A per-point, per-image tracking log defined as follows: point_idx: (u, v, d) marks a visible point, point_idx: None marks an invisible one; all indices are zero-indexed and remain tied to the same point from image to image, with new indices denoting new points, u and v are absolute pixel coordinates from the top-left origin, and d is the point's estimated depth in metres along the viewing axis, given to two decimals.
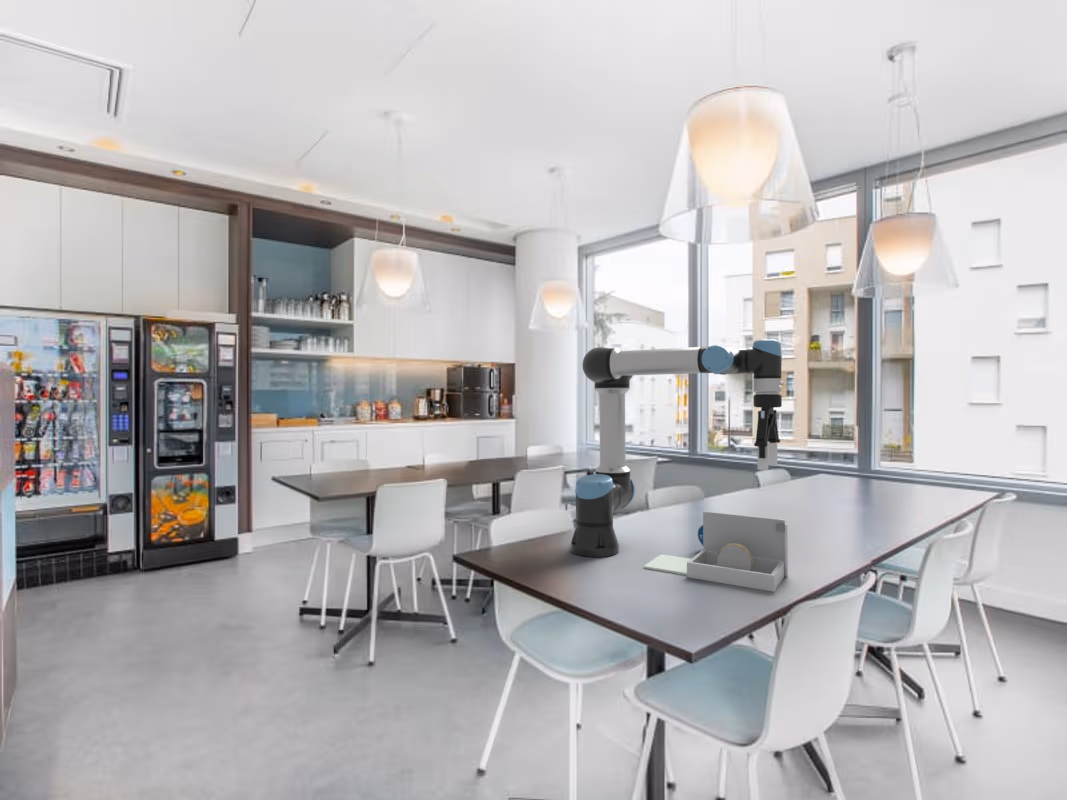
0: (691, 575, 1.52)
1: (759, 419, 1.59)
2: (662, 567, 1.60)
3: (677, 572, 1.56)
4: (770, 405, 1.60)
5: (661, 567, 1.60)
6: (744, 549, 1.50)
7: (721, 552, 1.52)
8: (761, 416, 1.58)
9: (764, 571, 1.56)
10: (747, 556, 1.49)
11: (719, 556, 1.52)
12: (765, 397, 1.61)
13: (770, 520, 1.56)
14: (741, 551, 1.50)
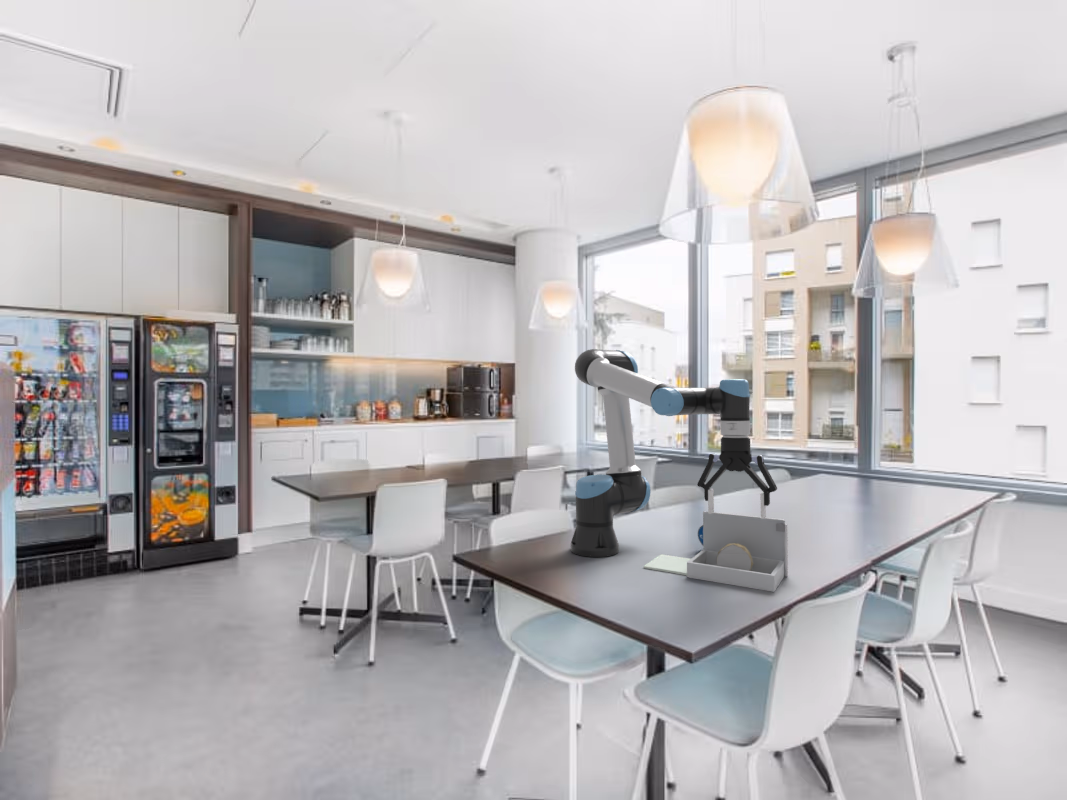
0: (691, 575, 1.52)
1: None
2: (662, 567, 1.60)
3: (677, 572, 1.56)
4: (721, 448, 1.54)
5: (661, 567, 1.60)
6: (744, 549, 1.50)
7: (721, 552, 1.52)
8: None
9: (764, 571, 1.56)
10: (747, 556, 1.49)
11: (719, 556, 1.52)
12: None
13: (770, 520, 1.56)
14: (741, 551, 1.50)
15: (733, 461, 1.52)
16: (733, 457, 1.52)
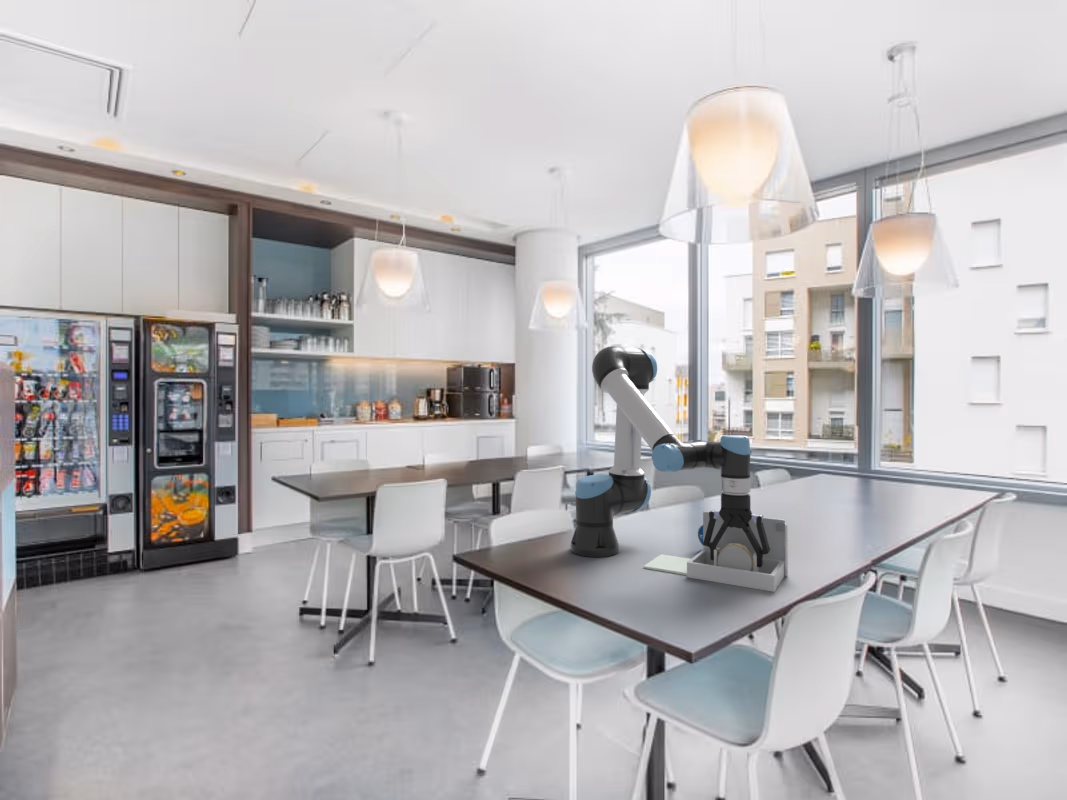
0: (691, 575, 1.52)
1: None
2: (662, 567, 1.60)
3: (677, 572, 1.56)
4: (721, 504, 1.54)
5: (661, 567, 1.60)
6: (745, 549, 1.50)
7: (721, 552, 1.52)
8: None
9: (764, 571, 1.56)
10: (748, 556, 1.49)
11: (719, 556, 1.52)
12: None
13: (770, 520, 1.56)
14: (742, 551, 1.50)
15: (733, 517, 1.53)
16: (733, 514, 1.53)
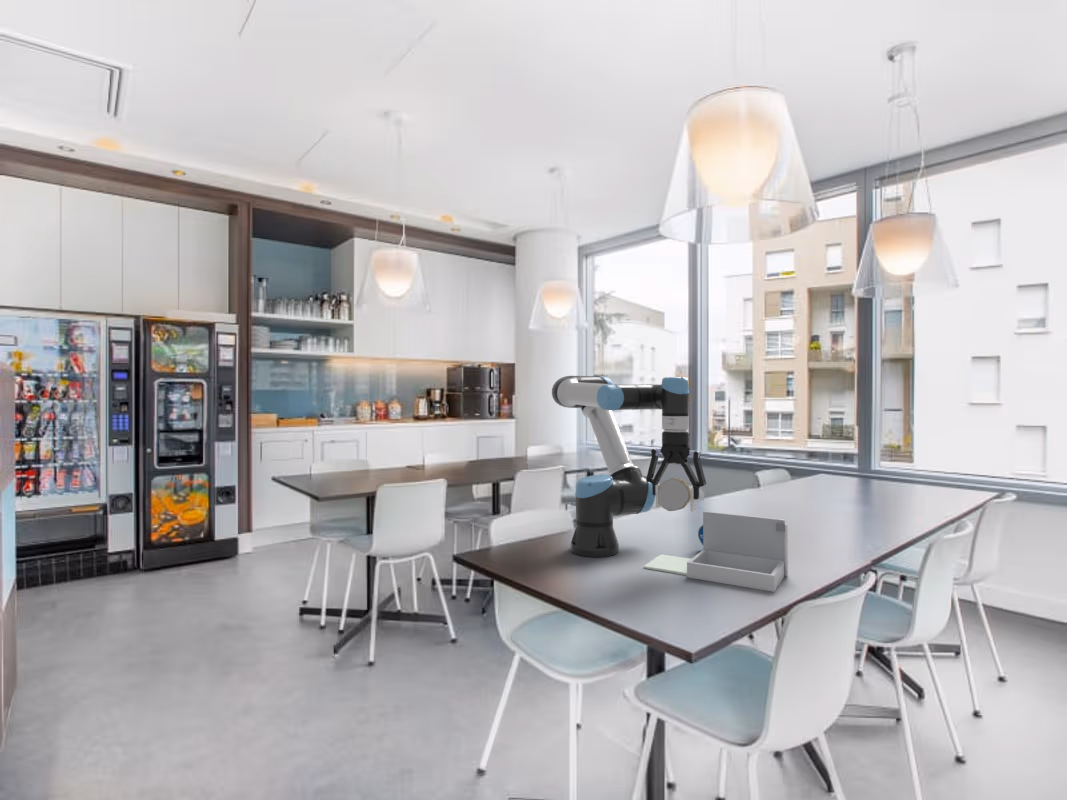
0: (691, 575, 1.52)
1: None
2: (662, 567, 1.60)
3: (677, 572, 1.56)
4: (662, 442, 1.64)
5: (661, 567, 1.60)
6: (682, 482, 1.60)
7: (661, 486, 1.62)
8: None
9: (764, 571, 1.56)
10: (685, 488, 1.59)
11: (660, 490, 1.62)
12: None
13: (770, 520, 1.56)
14: (680, 484, 1.60)
15: (673, 453, 1.63)
16: (673, 450, 1.63)
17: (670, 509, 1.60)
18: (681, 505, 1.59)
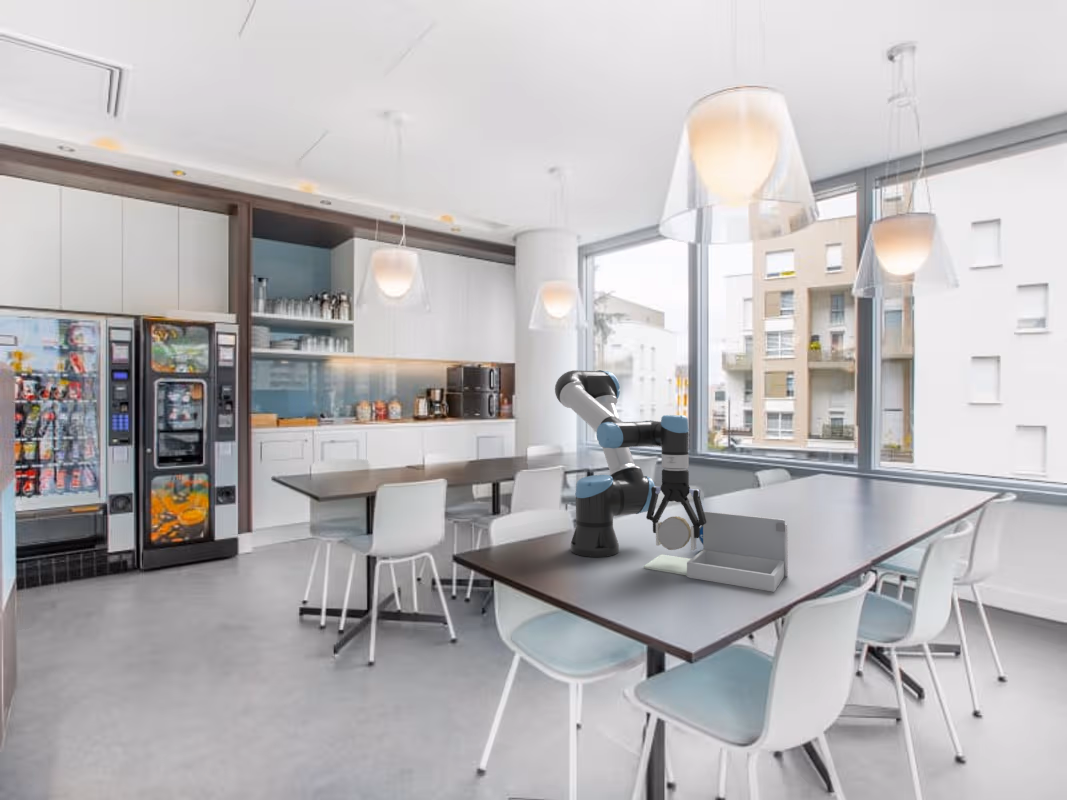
0: (691, 575, 1.52)
1: None
2: (662, 567, 1.60)
3: (677, 572, 1.56)
4: (662, 480, 1.64)
5: (661, 567, 1.60)
6: (683, 521, 1.60)
7: (662, 524, 1.62)
8: None
9: (764, 571, 1.56)
10: (685, 527, 1.59)
11: (660, 528, 1.62)
12: None
13: (770, 520, 1.56)
14: (680, 522, 1.60)
15: (673, 491, 1.63)
16: (673, 488, 1.63)
17: (670, 548, 1.60)
18: (681, 544, 1.59)
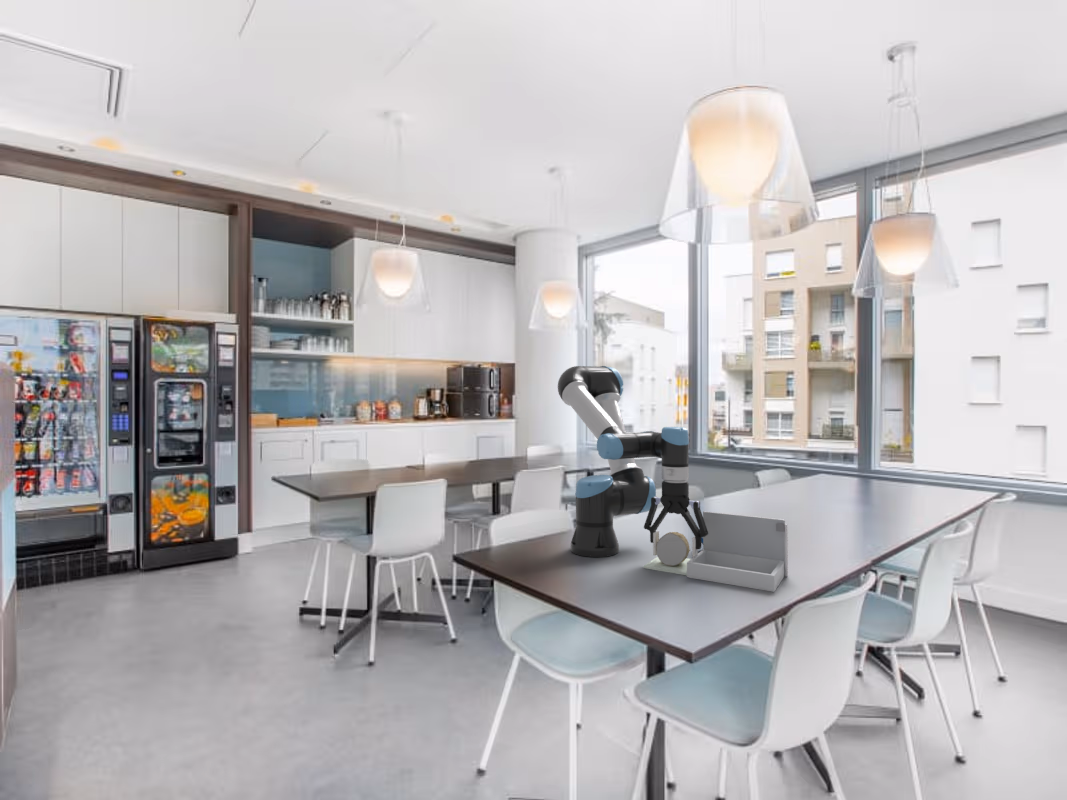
0: (691, 575, 1.52)
1: None
2: (662, 567, 1.60)
3: (677, 572, 1.56)
4: None
5: (661, 567, 1.60)
6: (680, 537, 1.61)
7: (660, 540, 1.63)
8: None
9: (764, 571, 1.56)
10: (683, 543, 1.59)
11: (658, 544, 1.63)
12: None
13: (770, 520, 1.56)
14: (678, 538, 1.60)
15: (672, 503, 1.63)
16: (672, 500, 1.63)
17: (669, 564, 1.61)
18: (680, 560, 1.59)
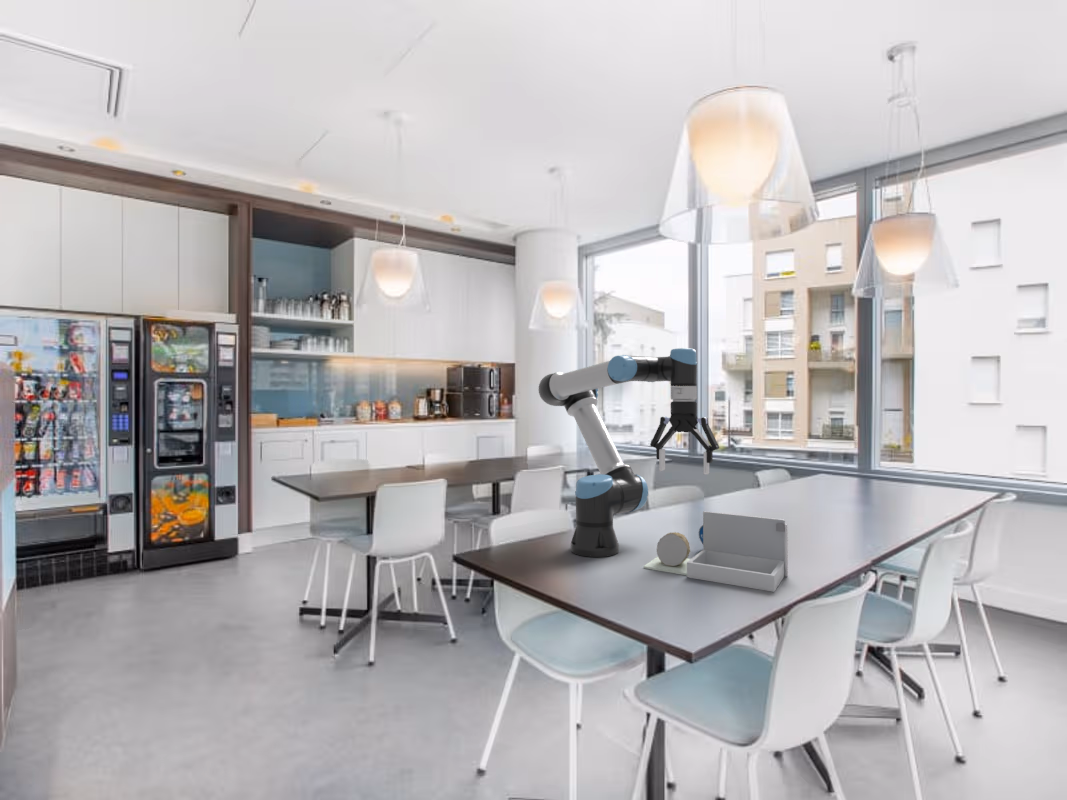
0: (691, 575, 1.52)
1: None
2: (662, 567, 1.60)
3: (677, 572, 1.56)
4: None
5: (661, 567, 1.60)
6: (681, 537, 1.60)
7: (660, 540, 1.62)
8: None
9: (764, 571, 1.56)
10: (684, 544, 1.59)
11: (659, 544, 1.63)
12: None
13: (770, 520, 1.56)
14: (679, 539, 1.60)
15: (681, 423, 1.68)
16: (681, 419, 1.68)
17: (669, 564, 1.61)
18: (680, 561, 1.59)
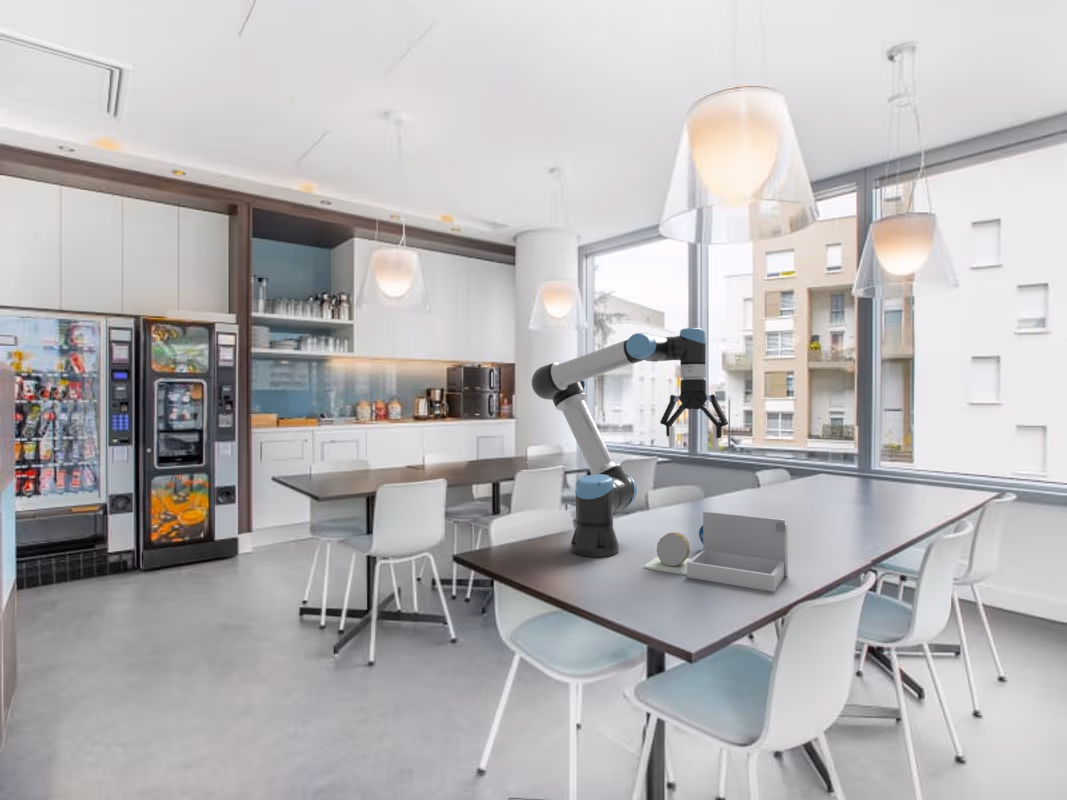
0: (691, 575, 1.52)
1: None
2: (662, 567, 1.60)
3: (677, 572, 1.56)
4: None
5: (661, 567, 1.60)
6: (681, 537, 1.60)
7: (660, 540, 1.62)
8: None
9: (764, 571, 1.56)
10: (684, 544, 1.59)
11: (659, 544, 1.63)
12: None
13: (770, 520, 1.56)
14: (679, 539, 1.60)
15: (691, 400, 1.74)
16: (691, 397, 1.74)
17: (669, 564, 1.61)
18: (680, 561, 1.59)
